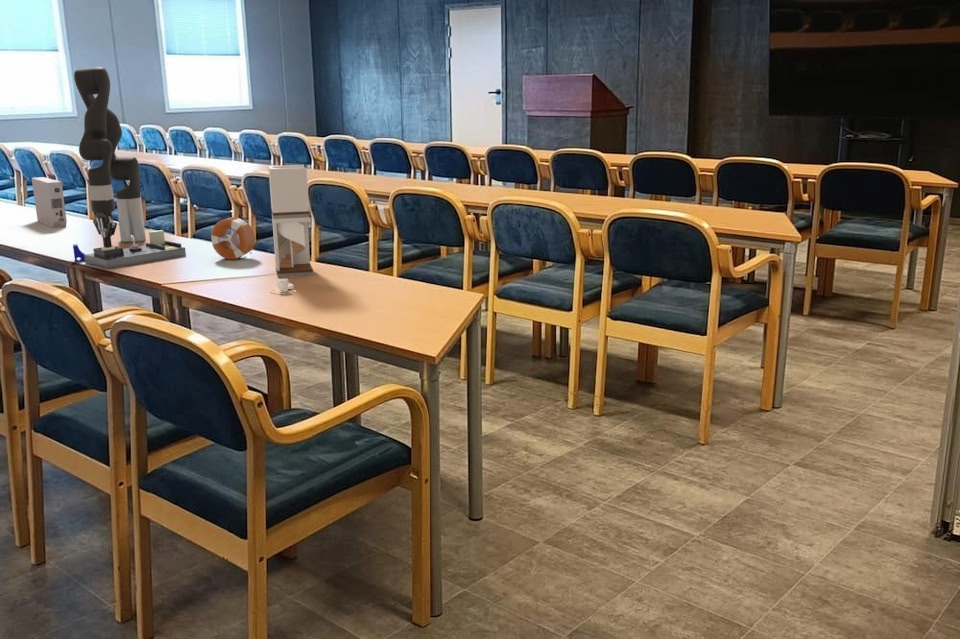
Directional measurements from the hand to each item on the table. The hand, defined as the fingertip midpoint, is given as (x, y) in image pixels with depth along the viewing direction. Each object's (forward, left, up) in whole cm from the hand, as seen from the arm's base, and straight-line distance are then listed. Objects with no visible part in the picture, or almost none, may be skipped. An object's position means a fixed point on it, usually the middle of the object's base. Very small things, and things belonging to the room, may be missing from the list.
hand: (107, 247), depth 312 cm
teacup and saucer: (+84, +15, -6) cm, 86 cm away
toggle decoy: (0, +10, -1) cm, 10 cm away
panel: (0, +10, -6) cm, 12 cm away
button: (0, 0, -3) cm, 3 cm away
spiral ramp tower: (+64, +31, -6) cm, 71 cm away
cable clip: (-13, 0, -6) cm, 14 cm away
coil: (+27, +33, -6) cm, 43 cm away
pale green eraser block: (-4, +21, -3) cm, 22 cm away
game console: (-107, +28, -6) cm, 110 cm away
